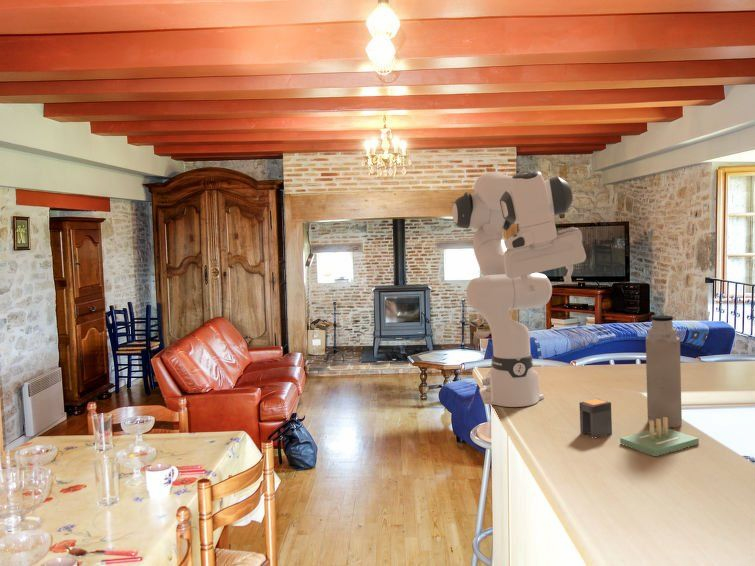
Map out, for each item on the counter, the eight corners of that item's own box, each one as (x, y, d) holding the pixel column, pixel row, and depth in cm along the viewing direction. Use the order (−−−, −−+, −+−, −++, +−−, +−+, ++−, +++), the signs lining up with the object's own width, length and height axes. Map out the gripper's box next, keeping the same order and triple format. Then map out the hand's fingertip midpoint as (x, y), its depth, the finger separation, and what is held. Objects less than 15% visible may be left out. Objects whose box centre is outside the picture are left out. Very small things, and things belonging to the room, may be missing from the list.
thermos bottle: (646, 417, 161) (643, 313, 159) (679, 418, 159) (677, 313, 156) (649, 427, 154) (646, 318, 151) (684, 428, 151) (681, 318, 149)
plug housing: (593, 438, 148) (592, 406, 148) (580, 433, 152) (579, 401, 152) (612, 433, 151) (610, 401, 150) (598, 429, 155) (597, 397, 154)
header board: (655, 457, 135) (654, 430, 134) (620, 443, 144) (619, 419, 143) (698, 444, 140) (698, 419, 140) (662, 432, 149) (661, 408, 149)
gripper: (576, 224, 155) (587, 276, 157) (497, 243, 157) (509, 294, 158) (583, 225, 149) (594, 279, 150) (501, 244, 151) (513, 298, 152)
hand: (549, 287), depth 154 cm, fingers open, 8 cm apart
